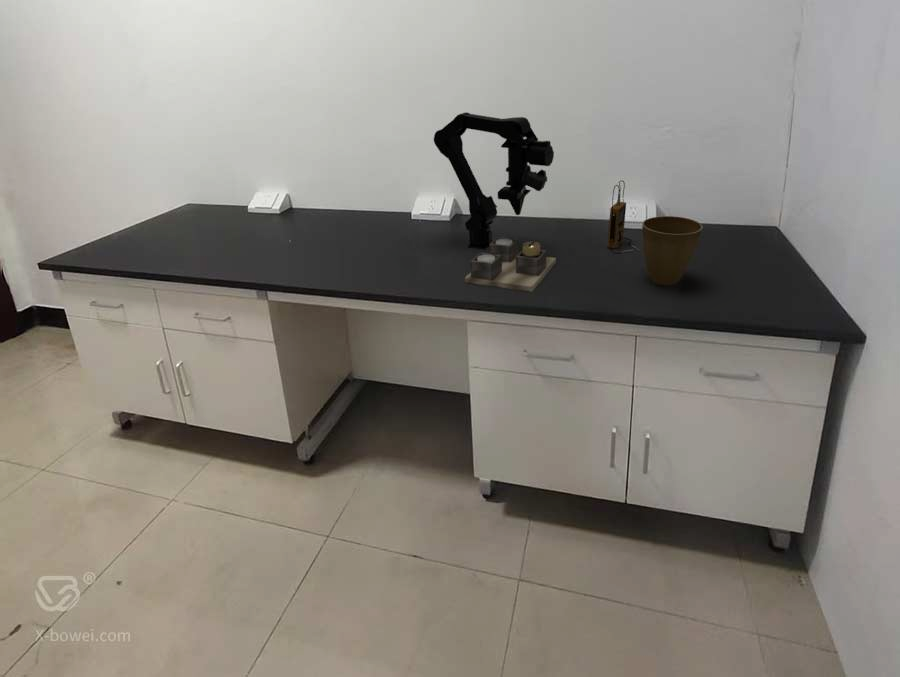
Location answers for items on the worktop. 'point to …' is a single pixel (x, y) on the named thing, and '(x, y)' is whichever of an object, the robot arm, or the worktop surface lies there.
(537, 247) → the brass dial
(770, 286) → the worktop surface
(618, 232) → the multimeter
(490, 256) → the knob front
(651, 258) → the plant pot
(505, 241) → the knob back
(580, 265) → the worktop surface
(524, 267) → the mount
